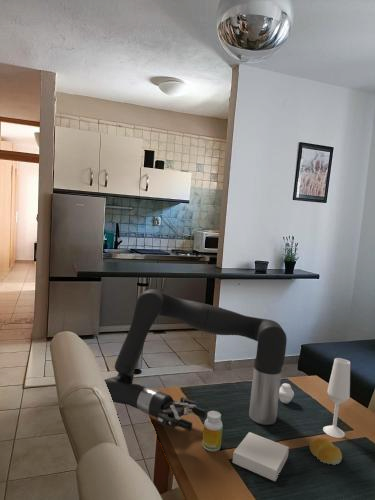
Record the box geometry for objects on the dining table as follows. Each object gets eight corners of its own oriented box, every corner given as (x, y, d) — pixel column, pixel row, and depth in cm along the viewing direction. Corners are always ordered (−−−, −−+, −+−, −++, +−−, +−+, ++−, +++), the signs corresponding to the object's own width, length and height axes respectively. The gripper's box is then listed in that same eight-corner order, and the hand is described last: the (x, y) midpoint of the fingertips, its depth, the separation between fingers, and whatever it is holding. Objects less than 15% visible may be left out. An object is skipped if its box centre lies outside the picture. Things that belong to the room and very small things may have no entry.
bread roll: (325, 468, 99) (327, 455, 99) (304, 448, 108) (306, 436, 107) (348, 463, 102) (350, 450, 102) (326, 444, 111) (327, 432, 110)
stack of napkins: (248, 441, 109) (249, 431, 108) (287, 457, 103) (288, 447, 102) (232, 462, 98) (233, 452, 98) (275, 481, 92) (276, 470, 92)
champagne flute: (340, 440, 113) (349, 366, 111) (319, 430, 118) (328, 360, 116) (347, 432, 118) (356, 361, 116) (327, 423, 123) (335, 355, 121)
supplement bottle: (219, 453, 102) (222, 420, 101) (200, 449, 103) (203, 417, 102) (221, 442, 107) (224, 411, 106) (203, 438, 108) (206, 408, 107)
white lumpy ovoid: (284, 406, 132) (286, 388, 131) (273, 398, 137) (274, 381, 137) (296, 403, 135) (298, 385, 134) (284, 396, 140) (286, 378, 140)
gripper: (141, 400, 109) (187, 418, 101) (168, 384, 121) (210, 399, 113) (140, 424, 109) (185, 444, 101) (166, 405, 122) (208, 422, 113)
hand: (198, 420), depth 107 cm, fingers open, 8 cm apart
